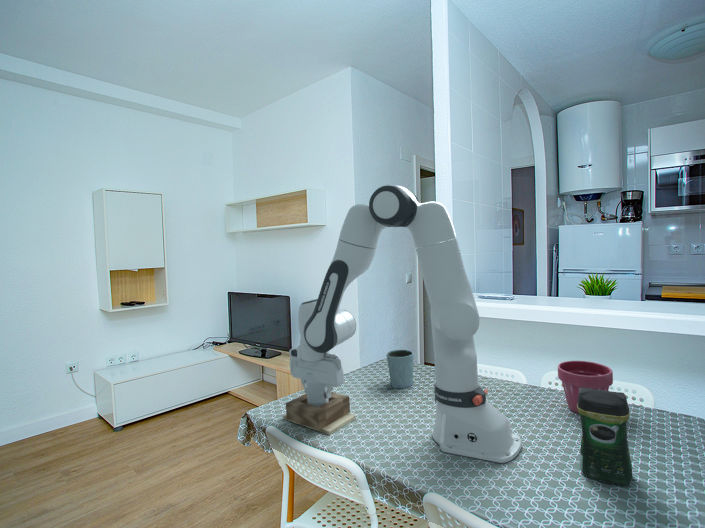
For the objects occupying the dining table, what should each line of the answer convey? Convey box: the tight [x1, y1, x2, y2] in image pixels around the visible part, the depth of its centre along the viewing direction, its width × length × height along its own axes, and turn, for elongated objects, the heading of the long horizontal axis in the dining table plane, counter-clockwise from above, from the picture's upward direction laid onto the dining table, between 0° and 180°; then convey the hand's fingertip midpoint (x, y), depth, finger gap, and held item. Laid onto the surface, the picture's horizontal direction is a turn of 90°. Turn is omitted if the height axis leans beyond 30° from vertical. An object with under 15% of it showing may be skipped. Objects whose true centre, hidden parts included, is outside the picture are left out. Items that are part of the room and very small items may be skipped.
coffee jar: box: [577, 387, 633, 486], centre depth 83 cm, size 10×8×19 cm
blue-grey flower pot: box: [386, 349, 414, 389], centre depth 145 cm, size 10×10×12 cm
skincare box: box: [306, 373, 329, 407], centre depth 119 cm, size 6×4×12 cm
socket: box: [282, 391, 357, 436], centre depth 120 cm, size 20×14×6 cm
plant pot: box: [557, 360, 614, 414], centre depth 115 cm, size 14×14×13 cm
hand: (317, 395), depth 119 cm, fingers closed on skincare box, 7 cm apart
